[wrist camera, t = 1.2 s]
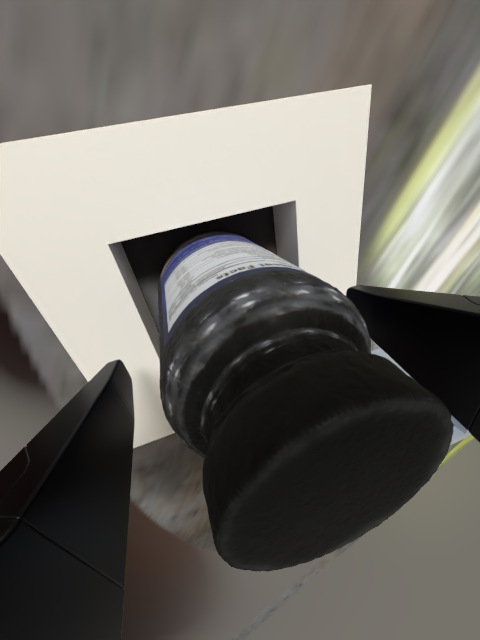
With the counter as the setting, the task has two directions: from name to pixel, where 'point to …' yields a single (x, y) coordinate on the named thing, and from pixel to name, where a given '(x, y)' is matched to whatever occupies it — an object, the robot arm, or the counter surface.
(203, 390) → the pill bottle
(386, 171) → the counter surface
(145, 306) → the white square frame
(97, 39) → the counter surface
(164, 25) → the counter surface
